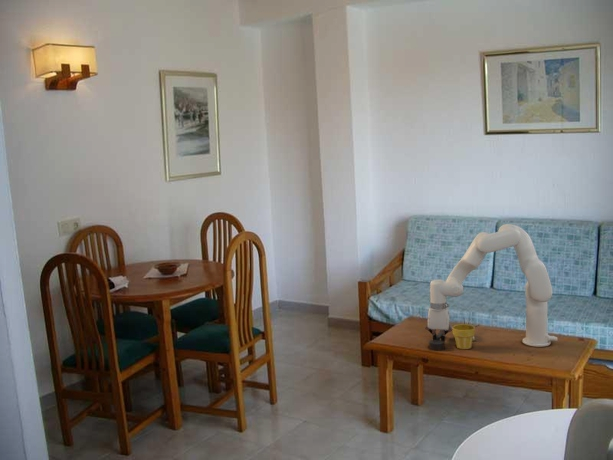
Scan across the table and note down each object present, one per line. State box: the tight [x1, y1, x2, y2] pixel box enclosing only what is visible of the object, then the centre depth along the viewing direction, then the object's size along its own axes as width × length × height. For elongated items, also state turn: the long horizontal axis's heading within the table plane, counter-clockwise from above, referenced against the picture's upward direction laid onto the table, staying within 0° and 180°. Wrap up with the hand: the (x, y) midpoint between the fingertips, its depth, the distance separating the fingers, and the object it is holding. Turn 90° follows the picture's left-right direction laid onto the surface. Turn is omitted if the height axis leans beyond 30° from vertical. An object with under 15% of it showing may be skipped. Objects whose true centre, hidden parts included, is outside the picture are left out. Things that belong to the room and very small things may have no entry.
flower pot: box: [452, 323, 476, 350], centre depth 311 cm, size 10×10×10 cm
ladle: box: [428, 330, 445, 351], centre depth 319 cm, size 21×7×4 cm, turn 160°
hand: (438, 342), depth 318 cm, fingers closed
